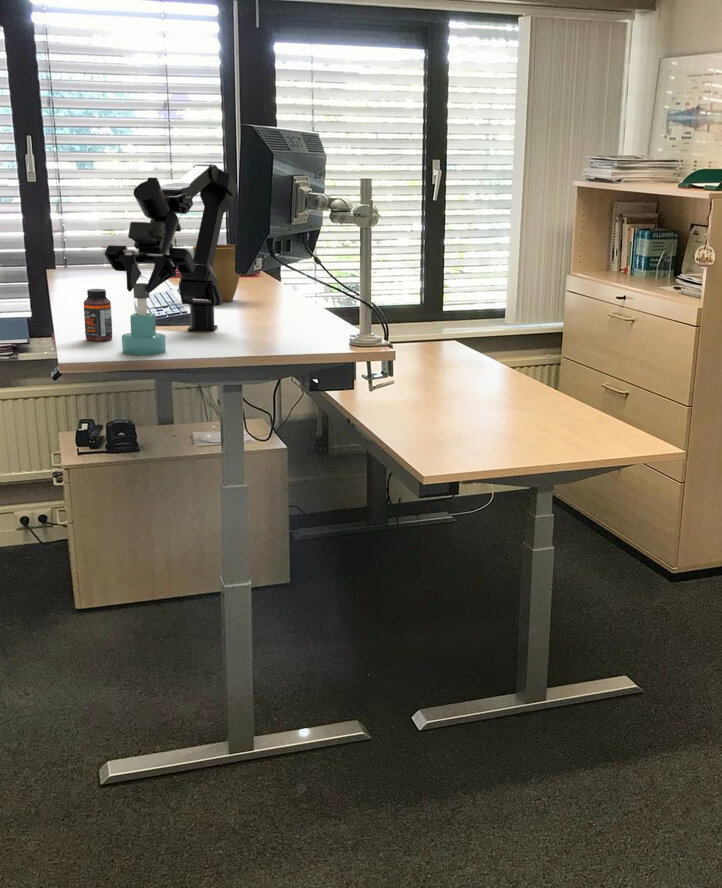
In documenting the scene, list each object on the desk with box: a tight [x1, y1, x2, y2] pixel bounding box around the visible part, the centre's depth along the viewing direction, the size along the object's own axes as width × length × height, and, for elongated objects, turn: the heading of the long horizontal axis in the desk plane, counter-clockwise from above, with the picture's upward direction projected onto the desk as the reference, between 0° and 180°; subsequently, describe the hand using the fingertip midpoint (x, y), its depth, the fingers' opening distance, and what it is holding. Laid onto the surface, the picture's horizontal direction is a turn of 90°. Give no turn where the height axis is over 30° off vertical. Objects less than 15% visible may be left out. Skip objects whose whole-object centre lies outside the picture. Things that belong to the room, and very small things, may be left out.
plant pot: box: [192, 244, 241, 303], centre depth 273 cm, size 15×15×16 cm
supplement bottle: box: [83, 288, 113, 342], centre depth 208 cm, size 6×6×11 cm
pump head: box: [132, 282, 150, 316], centre depth 194 cm, size 3×3×8 cm
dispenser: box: [121, 312, 167, 356], centre depth 196 cm, size 9×9×8 cm
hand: (138, 290), depth 192 cm, fingers open, 4 cm apart
